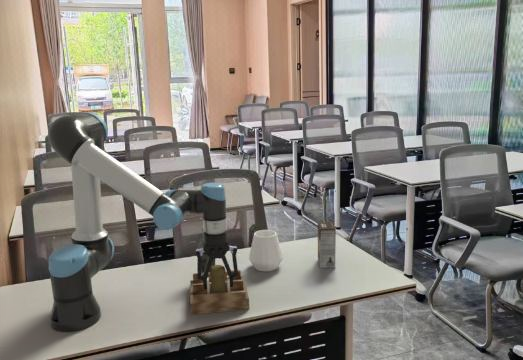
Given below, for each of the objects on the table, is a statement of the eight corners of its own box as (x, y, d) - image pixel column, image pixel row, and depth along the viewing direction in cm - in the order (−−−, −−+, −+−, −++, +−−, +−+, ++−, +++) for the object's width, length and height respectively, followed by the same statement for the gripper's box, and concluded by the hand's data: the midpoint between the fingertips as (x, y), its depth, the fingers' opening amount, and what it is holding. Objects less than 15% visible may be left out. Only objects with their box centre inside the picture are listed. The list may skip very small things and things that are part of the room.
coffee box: (317, 259, 199) (317, 221, 195) (333, 258, 199) (333, 221, 195) (319, 268, 190) (319, 229, 186) (336, 267, 190) (336, 228, 186)
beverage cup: (215, 283, 179) (212, 232, 175) (196, 282, 181) (192, 231, 176) (220, 275, 186) (217, 225, 182) (202, 274, 188) (199, 225, 183)
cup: (262, 257, 202) (261, 225, 199) (289, 264, 194) (288, 231, 191) (242, 268, 192) (240, 235, 188) (270, 276, 184) (269, 241, 181)
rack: (191, 314, 157) (189, 296, 156) (191, 290, 175) (189, 273, 173) (249, 308, 160) (248, 291, 158) (243, 285, 177) (243, 269, 176)
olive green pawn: (220, 302, 159) (219, 271, 156) (206, 298, 162) (204, 267, 159) (231, 295, 164) (230, 264, 161) (217, 291, 167) (215, 261, 164)
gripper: (185, 236, 152) (190, 304, 158) (245, 232, 155) (248, 299, 160) (185, 229, 160) (190, 294, 165) (243, 224, 162) (246, 289, 167)
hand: (218, 296), depth 163 cm, fingers closed on olive green pawn, 6 cm apart
